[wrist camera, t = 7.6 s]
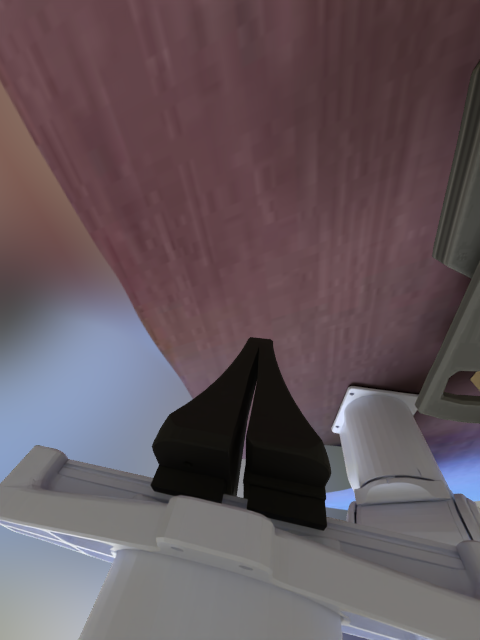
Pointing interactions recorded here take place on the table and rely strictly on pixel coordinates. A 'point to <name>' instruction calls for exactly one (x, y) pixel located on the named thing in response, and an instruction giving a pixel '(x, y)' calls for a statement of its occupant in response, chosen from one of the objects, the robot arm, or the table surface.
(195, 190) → the table surface
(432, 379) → the zipper pull
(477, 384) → the cream rectangular bar
